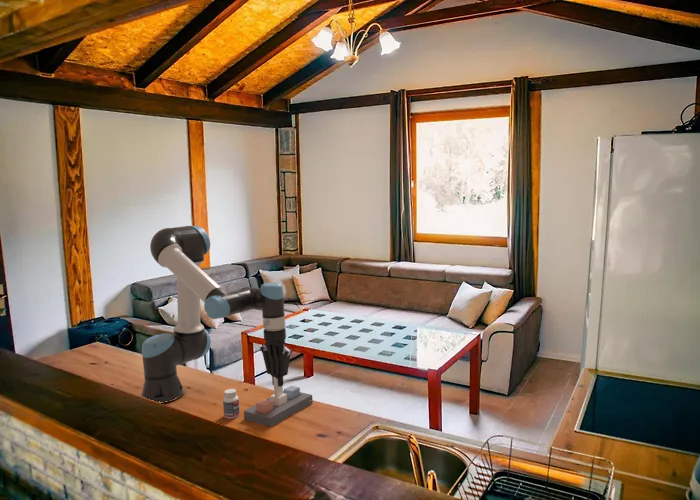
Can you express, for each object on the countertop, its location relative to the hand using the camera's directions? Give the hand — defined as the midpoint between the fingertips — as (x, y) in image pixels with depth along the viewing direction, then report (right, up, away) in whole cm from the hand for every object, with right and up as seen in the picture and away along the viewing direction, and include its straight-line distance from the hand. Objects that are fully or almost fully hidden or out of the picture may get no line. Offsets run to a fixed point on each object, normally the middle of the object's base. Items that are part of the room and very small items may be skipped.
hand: (278, 394), depth 182 cm
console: (0, -6, +1) cm, 6 cm away
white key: (0, -4, 0) cm, 4 cm away
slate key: (+4, -3, +6) cm, 8 cm away
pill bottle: (-16, -7, -2) cm, 17 cm away
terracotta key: (-4, -5, -5) cm, 8 cm away
